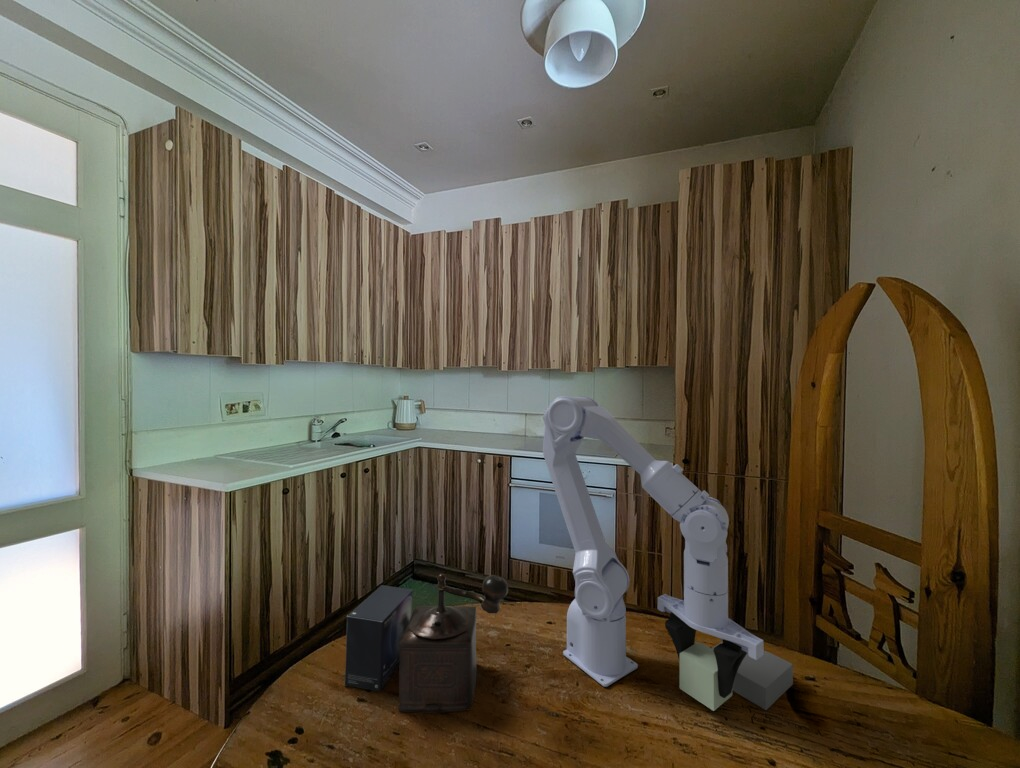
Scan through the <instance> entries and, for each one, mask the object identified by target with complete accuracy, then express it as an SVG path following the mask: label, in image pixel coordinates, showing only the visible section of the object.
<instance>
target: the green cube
mask: <svg viewBox="0 0 1020 768" xmlns="http://www.w3.org/2000/svg"><path fill="white" fill-rule="evenodd" d="M712 648H713V647H709V646H708V645H706V644H704V643H703V642H700V641H697V642H694V645H692V646H691V647H689V648H687V649H686V650H684V651H683V652H681V653H680V662H679V689H680V690H682V692H684V693H686V694H687V695H689V696H690V697H692V698H693V699H695V700H696V701H698V702H699V703H701V704H702V705H704V706H706V707H707V708H708V709H710V710H711V711H713V712H714V711H716V710H717V709H718V708H720V706H722V705H723V704H724V703H725V702H727V700H729V699H730V698H731V697H732V696H733V691H732V692H731V693H730V694H729V695H728V696H727V697H726V698H723V697H721V696H720V695H719V689H718V667H717V661H716V657H715V654H714V650H713V649H712Z"/></svg>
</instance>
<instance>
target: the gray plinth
mask: <svg viewBox="0 0 1020 768" xmlns="http://www.w3.org/2000/svg"><path fill="white" fill-rule="evenodd" d="M720 643H723V640H722V641H720V642H719V643H718V644H716V645H715V646H713V647H711V648H712V649H713V650H714V647H716V646H717V645H719V644H720ZM793 685H794V665H793V663H791V662H789V661H788V660H785V658H784V659H783V658H781V657H780V656H777V655H775V654H773V653H771V652H769V651H766V650H764V655H763V656H762V657H760V658H759V659H758V660H755V659H753V658H751V657H749V655H748V653H747V654H746V656H745V657H744V659H743V661H742V662H741V664H740V666H739V668H738V671H737V673H736V676H735V679H734V683H733V687H732V692H734V693H736V694H737V695H739V696H740V697H742V698H745V699H746V700H747V701H750V702H751V703H753V704H754V705H756V706H757V707H759V708H761V709H763V710H765V711H767V710H768V709H769V708H771V706H772V705H773V704H775V702H776V701H777V700H778V699H779V698H781V697H782V695H783V694H785V692H787V691H788V690H789V688H791V687H792V686H793Z"/></svg>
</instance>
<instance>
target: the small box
mask: <svg viewBox="0 0 1020 768" xmlns="http://www.w3.org/2000/svg"><path fill="white" fill-rule="evenodd" d="M412 614H413V589H412V588H405V587H397V586H390V585H384V584H382V585H380V586H379V587H377V589H375V590H374V591H373V592H372V593H370V595H368V596H367V597H366V599H364V600H363V601H362V602H361V603H360V604H359V605H357V607H355V608H354V609H353V610H352V611H351V612H349V613H348V614H347V615H346V637H345V639H346V641H345V668H344V670H345V672H344V686H346V687H353V688H359V689H363V690H369V691H374V692H381V691H382V690H383V688H384V687H385V685H386V684H387V683H388V682H389V680H390V678H392V676H393V675H394V674H395V672H396V671H397V670H398V669H399V652H400V651H399V644H400V640H401V638H402V635H403V633H404V631H405V629H406V627H407V625H408V623H409V620H410V618H411V616H412ZM395 670H396V671H395Z"/></svg>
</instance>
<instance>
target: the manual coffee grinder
mask: <svg viewBox="0 0 1020 768" xmlns="http://www.w3.org/2000/svg"><path fill="white" fill-rule="evenodd" d="M446 579H447V576H446V574H444V573H439V575H438V576H437V584H436V589H437V591H438V594H437V595H438V599H437V600H438V601H437V602H438V603H437V605H416V607H415V608H414V610H413V611H412V616H411V618H410V620H409V623H408V625H407V627H406V629H405V631H404V633H403V635H402V638H401V640H400V644H399V651H400V652H399V666H398V671H399V672H398V675H399V678H398V685H399V686H398V695H399V696H398V697H399V698H398V712H406V713H407V712H409V713H421V714H440V713H459V712H463V711H469V710H471V709H472V706H473V702H474V701H473V700H474V699H475V691H476V683H477V675H478V670H477V669H478V668H477V666H478V665H477V639H476V638H477V606H461V605H460V606H458V605H457V606H456V605H455V606H453V605H452V606H451V605H445V592H446V593H447V594H450V595H454V596H458V597H463V598H468V599H470V600H471V599H472V600H474V601H477V602H479V603H480V606H481V609H482V610H483V611H484V612H486V613H487V614H498V612H500V610H501V606H500V602H501V601H502V600H503V599H504V598H505V597H506V596H507V595H508V593H509V587H508V582H507V580H505V579H504V578H503V577H501V576H499V575H497V574H491V575H488V576H486V577H485V579H484V580H483V581H482V586H481V591H482V592H483V594H484V595H482V594H479V593H476V592H472V591H470V590H464V589H461V588H456V587H452V586H449V585H447V583H446Z"/></svg>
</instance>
